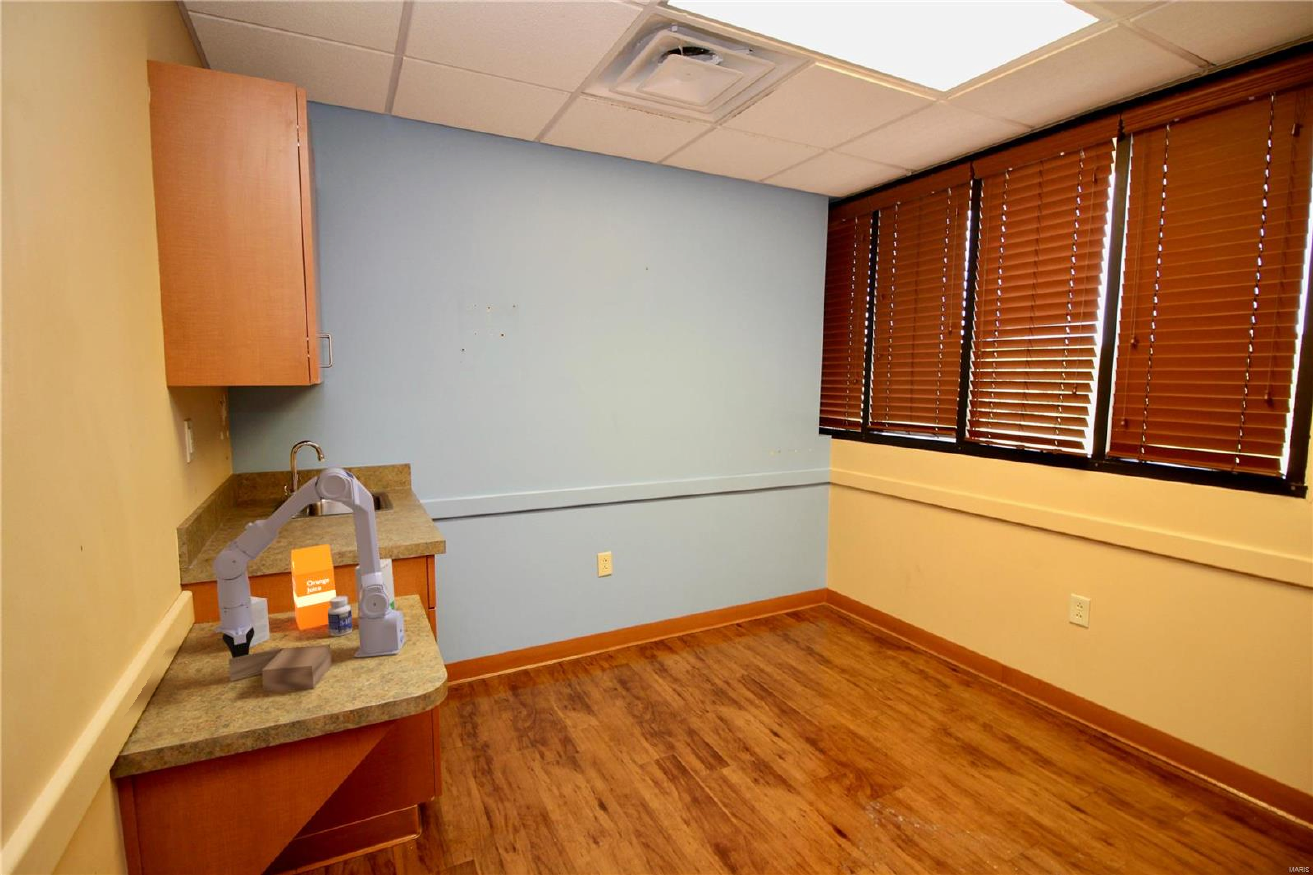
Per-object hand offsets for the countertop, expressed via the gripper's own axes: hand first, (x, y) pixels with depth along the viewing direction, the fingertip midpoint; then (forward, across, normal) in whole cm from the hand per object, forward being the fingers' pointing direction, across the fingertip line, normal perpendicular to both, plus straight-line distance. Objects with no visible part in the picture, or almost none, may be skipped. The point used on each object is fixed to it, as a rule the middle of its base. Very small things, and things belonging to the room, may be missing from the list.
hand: (241, 664), depth 133 cm
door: (+2, +1, +3) cm, 4 cm away
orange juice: (+3, -24, +18) cm, 30 cm away
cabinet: (+3, +9, +10) cm, 14 cm away
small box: (+3, -21, +2) cm, 21 cm away
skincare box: (+3, -14, +30) cm, 33 cm away
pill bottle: (+3, -12, +21) cm, 25 cm away
